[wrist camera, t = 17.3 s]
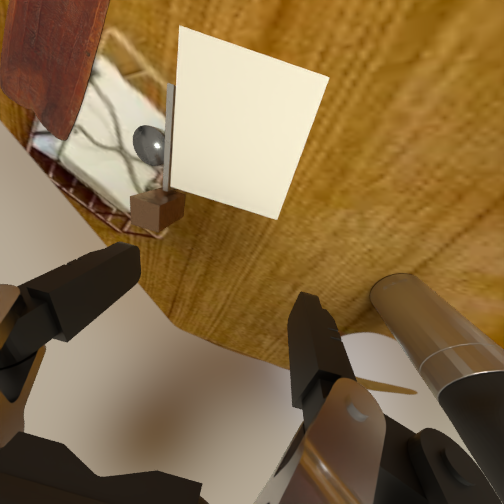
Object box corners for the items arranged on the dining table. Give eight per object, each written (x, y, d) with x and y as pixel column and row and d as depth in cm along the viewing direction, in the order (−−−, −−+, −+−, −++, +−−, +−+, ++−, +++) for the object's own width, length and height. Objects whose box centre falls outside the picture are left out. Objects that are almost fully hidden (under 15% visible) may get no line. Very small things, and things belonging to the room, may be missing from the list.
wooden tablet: (72, 146, 30) (62, 145, 28) (8, 93, 27) (-8, 89, 26) (143, -66, 19) (132, -84, 18) (47, -187, 16) (25, -220, 15)
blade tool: (183, 216, 33) (158, 232, 26) (162, 209, 33) (131, 223, 26) (196, 96, 24) (164, 72, 17) (167, 86, 24) (123, 58, 17)
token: (173, 129, 27) (164, 127, 25) (176, 166, 29) (168, 167, 27) (140, 126, 27) (129, 123, 25) (146, 163, 29) (136, 163, 27)
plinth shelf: (276, 205, 30) (277, 219, 23) (195, 179, 29) (170, 186, 22) (312, 101, 23) (329, 77, 16) (208, 66, 23) (179, 25, 16)
